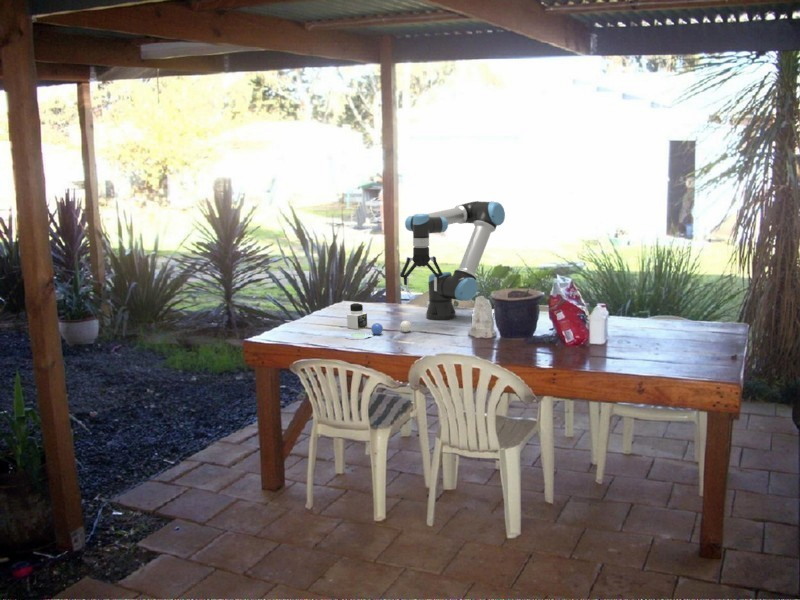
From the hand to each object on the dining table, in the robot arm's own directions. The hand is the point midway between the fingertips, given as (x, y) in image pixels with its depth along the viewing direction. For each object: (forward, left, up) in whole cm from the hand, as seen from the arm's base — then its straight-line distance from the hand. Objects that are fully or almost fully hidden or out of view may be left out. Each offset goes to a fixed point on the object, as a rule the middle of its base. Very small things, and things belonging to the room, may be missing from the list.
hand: (421, 291), depth 388 cm
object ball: (+22, +1, -16) cm, 28 cm away
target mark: (+31, +1, -19) cm, 37 cm away
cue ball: (+8, +1, -16) cm, 18 cm away
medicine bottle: (+28, -18, -19) cm, 39 cm away
